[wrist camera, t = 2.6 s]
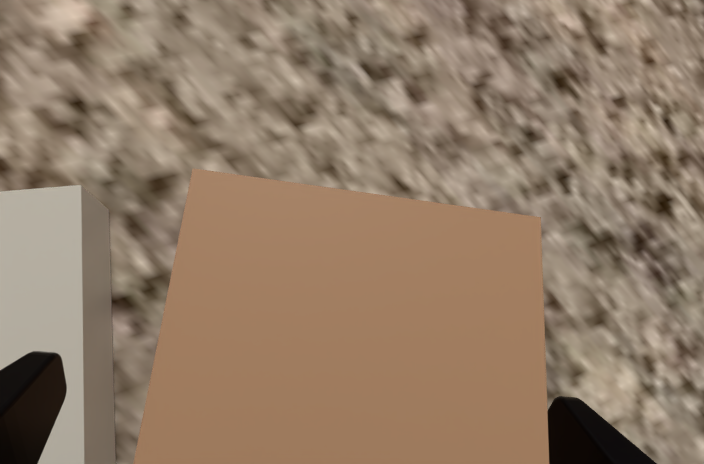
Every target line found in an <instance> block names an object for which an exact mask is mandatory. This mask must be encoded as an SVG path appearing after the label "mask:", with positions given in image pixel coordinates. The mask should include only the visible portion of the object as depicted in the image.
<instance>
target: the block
mask: <svg viewBox="0 0 704 464" xmlns="http://www.w3.org/2000/svg"><path fill="white" fill-rule="evenodd" d="M134 464H549V443H548V414H547V386H546V357H545V329H544V300H543V272H542V243H541V217H534V216H527V215H520V214H513V213H506V212H499V211H492V210H485V209H477V208H470V207H463V206H456V205H449V204H442V203H435V202H428V201H420V200H413V199H406V198H399V197H392V196H385V195H378V194H370V193H363V192H356V191H349V190H342V189H335V188H328V187H321V186H313V185H306V184H299V183H292V182H285V181H278V180H271V179H264V178H256V177H249V176H242V175H235V174H228V173H221V172H214V171H207V170H199V169H193V170H192V175H191V180H190V185H189V190H188V195H187V200H186V205H185V210H184V215H183V220H182V225H181V230H180V235H179V240H178V245H177V250H176V254H175V259H174V264H173V269H172V274H171V279H170V284H169V289H168V294H167V299H166V304H165V309H164V314H163V319H162V324H161V329H160V334H159V339H158V344H157V349H156V354H155V359H154V364H153V369H152V374H151V379H150V384H149V389H148V394H147V399H146V404H145V409H144V414H143V419H142V424H141V429H140V434H139V439H138V444H137V449H136V454H135V459H134Z"/></svg>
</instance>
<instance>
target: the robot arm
mask: <svg viewBox="0 0 704 464" xmlns="http://www.w3.org/2000/svg"><path fill="white" fill-rule="evenodd" d="M66 392H67V384H66V379H65V373H64V368H63V362H62V358H61V356H60V355H59V354H58V353H55V352H43V351H32V352H30V353H28V354H26V355H24V356H22V357H21V358H19V359H18V360H16V361H14V362H13V363H11V364H9V365H8V366H6V367H4V368H3V369H1V370H0V464H38V462H39V459H40V457H41V454H42V452H43V450H44V447H45V445H46V443H47V440H48V438H49V436H50V433H51V431H52V429H53V426H54V424H55V421H56V419H57V417H58V414H59V412H60V410H61V407H62V405H63V403H64V400H65V397H66ZM547 414H548V443H549V464H656V463H655V462H654V461H653V460H652V459H651V458H649V457H648V456H647V455H646V454H645V453H643V452H642V451H641V450H640V449H639V448H638V447H636V446H635V445H634V444H633V443H632V442H630V441H629V440H628V439H627V438H626V437H625V436H623V435H622V434H621V433H620V432H619V431H617V430H616V429H615V428H614V427H613V426H612V425H610V424H609V423H608V422H607V421H606V420H604V419H603V418H602V417H601V416H600V415H598V414H597V413H596V412H595V411H594V410H593V409H591V408H590V407H589V406H588V405H587V404H585V403H584V402H583V401H582V400H580V399H578V398H574V397H563V396H559V397H557V398H555V399H554V400H553V402H552V404H551V406H550V407H549V409H548V411H547Z"/></svg>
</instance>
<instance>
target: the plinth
mask: <svg viewBox="0 0 704 464" xmlns="http://www.w3.org/2000/svg"><path fill="white" fill-rule="evenodd" d="M32 351H43V352H55V353H58V354H59V355H60V356H61V358H62V362H63V368H64V373H65V379H66V384H67V392H66V397H65V400H64V403H63V405H62V407H61V410H60V412H59V414H58V417H57V419H56V421H55V424H54V426H53V429H52V431H51V433H50V436H49V438H48V440H47V443H46V445H45V447H44V450H43V452H42V454H41V457H40V459H39V462H38V464H116V452H115V415H114V378H113V341H112V305H111V268H110V231H109V210H108V209H107V208H106V207H105V206H104V205H103V204H101V203H100V202H99V201H98V200H97V199H96V198H95V197H94V196H93V195H92V194H90V193H89V192H88V191H87V190H86V189H85V188H84V187H83V186H82V185H76V186H64V187H51V188H39V189H27V190H14V191H2V192H0V370H1V369H3V368H4V367H6V366H8V365H9V364H11V363H13V362H14V361H16V360H18V359H19V358H21V357H22V356H24V355H26V354H28V353H30V352H32Z"/></svg>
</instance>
